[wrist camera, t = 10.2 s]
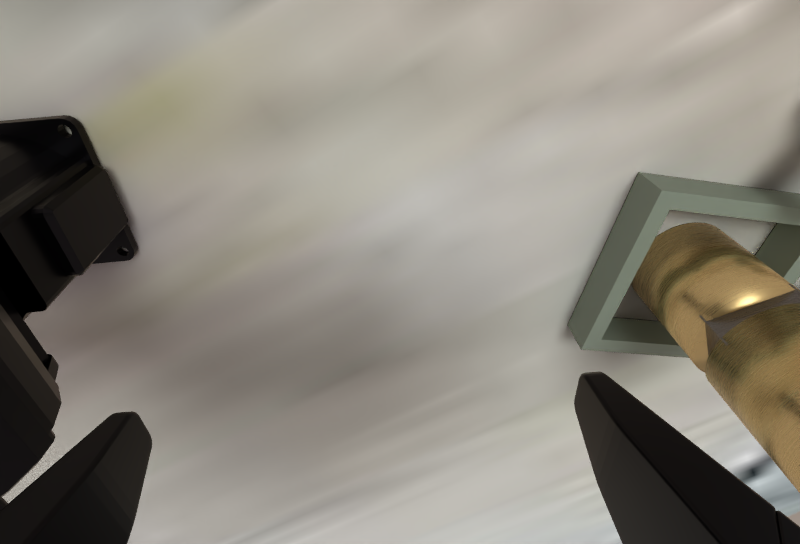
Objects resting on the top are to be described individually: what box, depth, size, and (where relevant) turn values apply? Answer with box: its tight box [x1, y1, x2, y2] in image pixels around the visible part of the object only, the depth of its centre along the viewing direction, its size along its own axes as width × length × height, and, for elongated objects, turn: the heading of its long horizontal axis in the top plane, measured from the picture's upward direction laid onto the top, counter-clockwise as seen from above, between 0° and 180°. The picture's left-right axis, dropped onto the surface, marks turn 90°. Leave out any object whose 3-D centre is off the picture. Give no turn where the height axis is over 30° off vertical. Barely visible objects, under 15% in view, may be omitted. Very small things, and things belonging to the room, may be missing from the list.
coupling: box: [631, 223, 800, 493], centre depth 19 cm, size 5×5×12 cm
